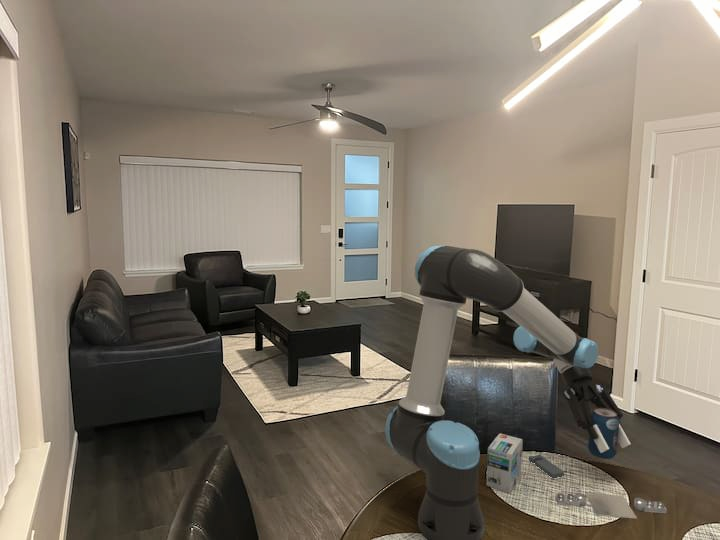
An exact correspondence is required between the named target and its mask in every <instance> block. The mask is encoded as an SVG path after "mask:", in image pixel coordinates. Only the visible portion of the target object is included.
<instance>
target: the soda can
mask: <svg viewBox="0 0 720 540" xmlns="http://www.w3.org/2000/svg"><path fill="white" fill-rule="evenodd" d="M591 416H592V421H593V425H597V426H598V428H599V430H600V432H601V434H602V436H603V438H604V440H605V441H606V443H607V445H608V447H609V449H608V450H606V451H605V452H603V453H600V451H599V449H598V447H597V445H596V443H595V441H594V440H592V438H591V437H590V434H589V433H588V444H587V448H588V451H589V453H590V455H591V456H593V457H595V458H597V459H600V460H606V461H607V460H608V461H609V460H612V459H614V458H615V456H616V455H617V451H618V443H619V442H618V431H619V421H620V420H619V419H618V416H617V413H616V412H615V411H613V410H610V409H607V408H598V407H596V408H593V411H592V413H591Z"/></svg>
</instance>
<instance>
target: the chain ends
mask: <svg viewBox="0 0 720 540" xmlns="http://www.w3.org/2000/svg"><path fill="white" fill-rule="evenodd" d="M587 498H588V499H587ZM555 499H556V501H558V502H557V504H558V505H559V504H560V505H561V506H569V505H571V506H572V505H573V506H572V507H586V506H587V501H588V502H589V504H590V506H591V509H592V510H593V512H594V514H595V515H596V516H598V517H612V518H613V517H614V518H615V517H616V518H623V519H624V518H625V519H635V520H638V517H637V515H636V514H635V512H634V511H633V509H632V508H631V506H630V504H629V503H628V501H627V500H626V498H625V496H624V495H621V494H606V493H597V492H596V493H593V492H585V493H581V492H576V493H575V494H572V493H568V494H565V493H562V492H561V493H560V492H558V493H555ZM560 505H559V506H560ZM585 505H586V506H585ZM571 506H570V507H571ZM633 508H634V509H635V510H637V511H639V512H644V513H656V514H667V511H668V510H667V507H666V506H665V502H664V501H661V500H658V501H653V500H649V499H648V500H646V499H644V498H641V497H634V501H633Z"/></svg>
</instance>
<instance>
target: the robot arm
mask: <svg viewBox="0 0 720 540" xmlns="http://www.w3.org/2000/svg"><path fill="white" fill-rule="evenodd" d="M414 279H416V283H417V284H418V286H420V288H419V294H418V297H420V299H421V301H422V303H423V307H422V311H421V315H420V322H419V327H418V331H417V339H416V343H415V347H414V353H413V358H412V364H411V369H410V375H409V378H408V379H409V380H408V385H407V392H406V395H405V396H403V398H401V399H400V400H399V402H398V405H397V406H395V407H394V408H393V409H392V412H391V413H389V414H388V416H387V419H386V421H385V424H384V425H385V426H384V429H385V430H384V432H385V437H386V440H387V442H388V444H389V445H390V446H391V448H392V449H394V450H395V451H396V453H397V454H398V455H400V456H401V457H404V459H406V460H408V461H409V462H410V463H412V464H413V465H415V466H416V467H417V468H418V469H420V470H421V471H422V472H424V473H425V474H426V476H425V477H426V478H425V479H426V480H425V481H426V482H425V483H426V486H425V487H426V488H425V489H426V490H425V494H424V497H423V499H422V502H421V505H420V507H419V510H418V513H417V526H418V530H419V532H420V533H421V535H422V536H423V537H425V538H426V539H427V540H481V539H482V538H483V537H484V533H485V519H484V516H483V511H482V509H481V505H480V503H479V499H478V492H479V491H478V490H479V489H478V488H479V487H478V486H479V472H480V471H479V470H480V458H481V457H480V455H481V453H480V442H479V439H478V436H477V435H476V433H475V432H474V431H473V429H471V428H470V427H469V426H467V425H465V424H463V423H460V422H454V421H453V420H444V419H445V413H446V412H445V409H444V408H443V406H442V404H441V401H442V395H443V389H444V384H445V380H446V375H447V370H448V369H447V368H448V365H449V364H448V363H449V360H450V353H451V347H452V344H453V337H454V332H455V327H456V323H457V322H456V321H457V316H458V312H459V310H460V309H461V308H463V307H464V306H465V305H466V303H467V300H468V299H469V300H472V301H475V302H478V303H482V304H484V305H485V306H487V307H489V308H490V309H492V310H493V311H496V312H502V313H503V314H505V315H506V316H507V317H509V319H511V320H512V321H514V322H515V323H516V324H517V325H519V326H518V327H517V328H516V329H515V331H514V332H513V337H512V339H513V344H514V346H515V347H516V349H517V350H518V351H520V352H524V353H525V352H526V353H528V354H529V353H533V354H534V353H535V354H538V355H540V356H544V357H547V358H550V359H552V361H553V363H554V364H555V367H556V368H557V370H558V372H559V373H560V375H561V378H562V380H563V382H564V384H565V385H566V387H569V388H568V389H566V390H565V391H564V392H562V396H563V397H564V398H565V399H566V401H567V403H568V406H569V408H570V411H571V413H572V416H573V417H574V421H575V422H576V423H575V424H576V426H577V427H578V428H581V429H583V430H586V431H587V433H588V435H589V434H590V437H591V438H592V440H594V441H595V443H596V445H597V447H598V449H599V451H600V453H603V452H605V451H606V450H608V449H609V447H608V445H607V443H606V441H605V440H604V438H603V436H602V434H601V432H600V430H599V428H598V426H597V425H593V421H592V416H591V414H592V413H591V408H590V405H589V403H591V404H594V405H595V406H596V408H607V409H610V410H613V411H615V412H616V413H617V416H618V419H619V431H618V442H617V443H619V445H620V447H621V449H625V448H626V447H628V446H630V445H632V444H631V442H630V440H629V437H628V436H627V435H626V431H625V428H624V427H623V425H622V423H621V421H620V420H621V419H622V418H624V415H623V413H622V411H621V409H620V408H619V406H618V405H617V404H616V402H615V400H614V399H613V398H612V396H611V395H610V393H609V392H608V390H607V387H606V384H604V383H601V384H600V385H599V384H596V383H595V382H594V381H593V377H592V376H593V375H592V372H591V371H590V369H589V368H592V367H593V366H594V364H596V361H597V359H598V357H599V346H598V344H597V343H596V342H595V341H593V340H591V339H588V338H587V337H585V338H584V337H582V336H579V335H578V334H577V333H575V332H574V331H573V329H571V328H570V327H569V326H567V324H565V322H564V321H563V320H561V319H560V318H559V317H557V316H556V315H555V314H554V313H553V312H552V311H551V310H549V308H547V307H546V306H545V305H544V304H543V303H542V302H540V301H539V300H538V299H537V298H536V296H534V295H533V294H532V293H531V292H529V291H528V290H527V289H526V288H525V286H524V282H523V280H522V279H521V278H520V277H519V276H518V275H517V274H516V273H515V272H513V270H511V269H510V268H509V267H507V266H506V265H505V264H504V263H502V262H501V261H499V260H498V259H497V258H495V257H494V256H492V255H490V254H489V253H487V252H485V251H482V250H479V249H474V248H464V247H456V246H451V245H435V246H434V245H433V246H431V247H428V248H427V249H426V250H424V251H423V252H422V253H421V254H420V256H419V257H418V258H417V260H416V264H415V266H414Z"/></svg>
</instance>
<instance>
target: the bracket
mask: <svg viewBox="0 0 720 540" xmlns="http://www.w3.org/2000/svg"><path fill="white" fill-rule="evenodd" d="M528 457H529V458H528V462H529V461H530V462H529V463H531V462H532V463H535V464H534V466H535V465H536V466H537V467H539V468H540V469H541V470H543V471H544V472H545V473H547V474H548V475H549V476H550V477H552V478H557V477H562V476H564V477H565V471H563V470H562V469H561V468H559V467H558V466H557V465H555V464H554V463H552V462H551V461H550V460H548V459H547V458H545V457H544V456H543V455H542V454H536V455H530V456H528ZM532 463H531V464H532ZM536 466H535V467H536ZM537 467H536V468H537ZM540 469H539V470H540ZM541 470H540V471H541ZM544 472H543V473H544ZM545 473H544V474H545ZM549 476H548V477H549ZM550 477H549V478H550ZM562 478H563V477H562ZM557 479H558V478H557Z"/></svg>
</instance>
